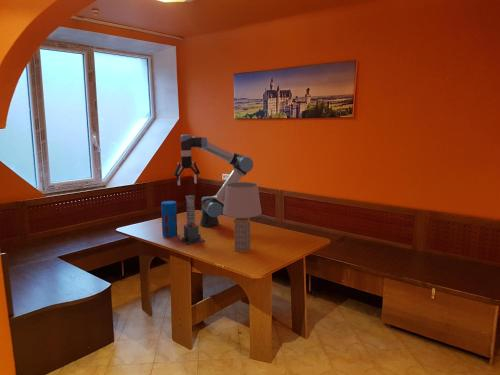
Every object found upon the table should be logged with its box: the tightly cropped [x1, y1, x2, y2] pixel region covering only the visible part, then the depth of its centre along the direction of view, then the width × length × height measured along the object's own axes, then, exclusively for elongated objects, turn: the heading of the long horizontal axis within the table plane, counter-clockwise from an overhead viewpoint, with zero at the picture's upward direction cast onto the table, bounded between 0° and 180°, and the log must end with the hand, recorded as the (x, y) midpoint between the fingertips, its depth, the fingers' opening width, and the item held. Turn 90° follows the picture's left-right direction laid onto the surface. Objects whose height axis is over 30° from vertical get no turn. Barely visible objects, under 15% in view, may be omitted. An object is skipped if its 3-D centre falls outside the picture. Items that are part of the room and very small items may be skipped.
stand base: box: [177, 223, 206, 246], centre depth 275 cm, size 14×14×13 cm
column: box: [184, 194, 196, 227], centre depth 273 cm, size 5×5×23 cm
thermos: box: [160, 200, 178, 239], centre depth 286 cm, size 11×11×25 cm
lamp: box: [222, 181, 263, 253], centre depth 254 cm, size 25×25×44 cm
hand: (187, 184), depth 292 cm, fingers open, 13 cm apart
